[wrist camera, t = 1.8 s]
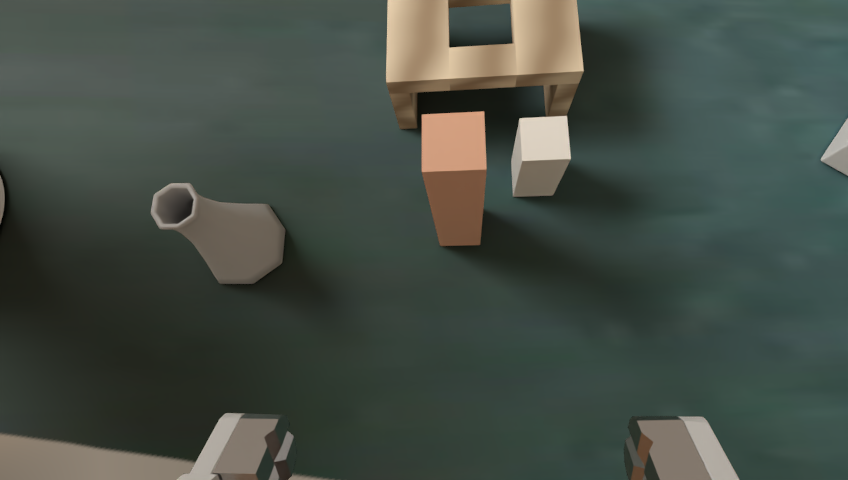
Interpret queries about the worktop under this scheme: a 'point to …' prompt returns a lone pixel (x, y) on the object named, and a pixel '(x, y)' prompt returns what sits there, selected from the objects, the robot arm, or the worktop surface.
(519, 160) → the short block
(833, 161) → the milk carton
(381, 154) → the worktop surface
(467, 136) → the long pin
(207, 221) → the flask
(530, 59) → the tan block with hole
